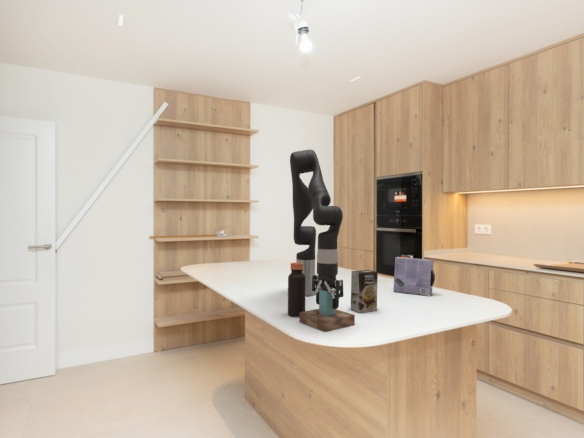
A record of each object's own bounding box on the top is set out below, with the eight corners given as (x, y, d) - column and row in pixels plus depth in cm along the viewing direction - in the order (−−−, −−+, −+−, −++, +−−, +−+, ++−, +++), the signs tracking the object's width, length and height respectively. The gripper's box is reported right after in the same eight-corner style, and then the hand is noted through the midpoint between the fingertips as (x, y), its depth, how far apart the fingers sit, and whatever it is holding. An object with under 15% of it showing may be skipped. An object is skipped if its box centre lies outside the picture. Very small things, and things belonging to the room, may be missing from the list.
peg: (327, 321, 137) (327, 288, 137) (334, 323, 134) (335, 290, 134) (318, 322, 135) (319, 289, 135) (326, 325, 132) (326, 291, 132)
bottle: (299, 318, 141) (299, 265, 141) (284, 315, 145) (284, 263, 144) (308, 314, 147) (308, 263, 146) (293, 311, 150) (294, 261, 150)
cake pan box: (434, 295, 184) (435, 259, 183) (432, 296, 180) (433, 260, 179) (396, 290, 194) (396, 256, 194) (393, 292, 190) (393, 257, 190)
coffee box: (359, 313, 148) (360, 272, 148) (350, 309, 154) (350, 270, 154) (377, 310, 153) (378, 271, 152) (367, 307, 158) (368, 269, 158)
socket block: (328, 315, 144) (328, 306, 144) (354, 324, 133) (354, 314, 133) (299, 321, 136) (299, 312, 136) (325, 331, 125) (325, 321, 125)
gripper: (349, 262, 131) (348, 309, 131) (322, 258, 142) (321, 301, 142) (333, 264, 126) (332, 312, 126) (306, 260, 138) (306, 303, 138)
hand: (326, 306), depth 134 cm, fingers open, 8 cm apart
